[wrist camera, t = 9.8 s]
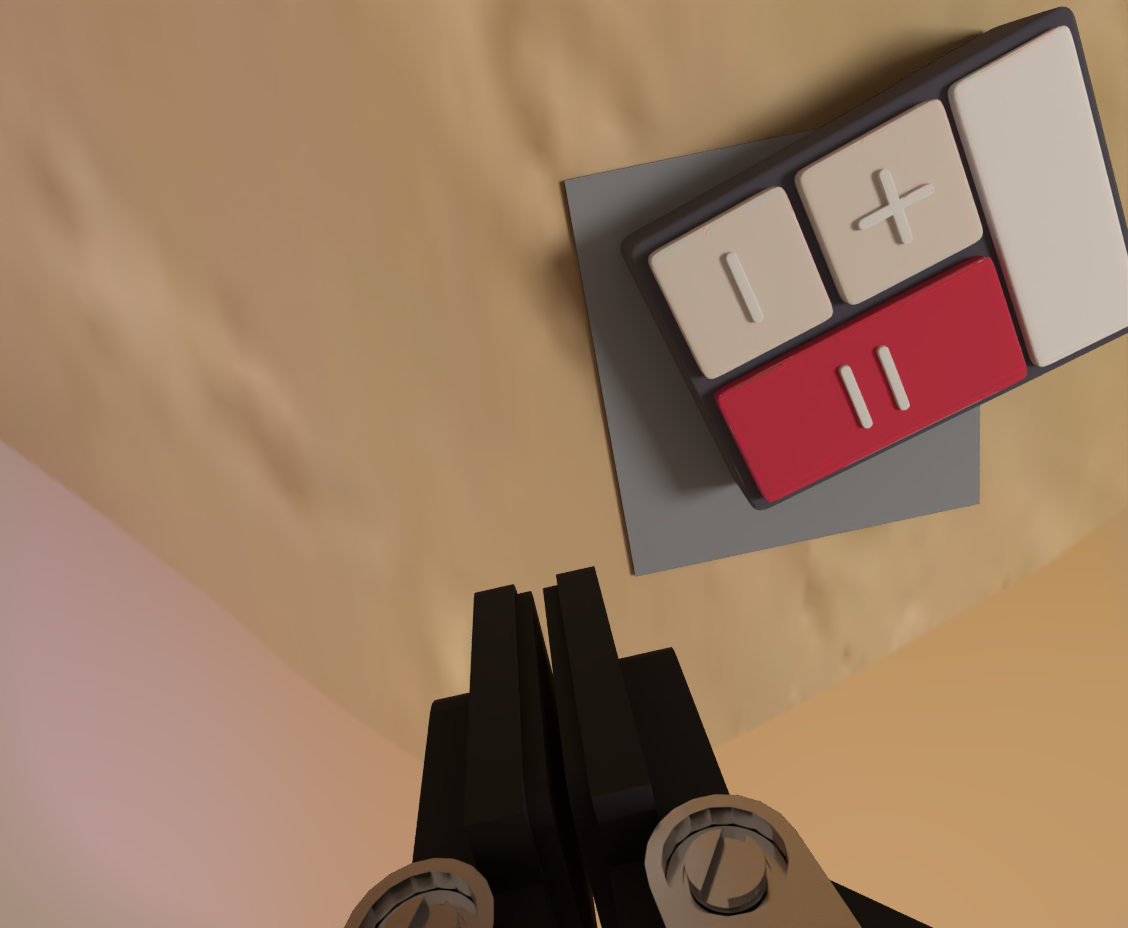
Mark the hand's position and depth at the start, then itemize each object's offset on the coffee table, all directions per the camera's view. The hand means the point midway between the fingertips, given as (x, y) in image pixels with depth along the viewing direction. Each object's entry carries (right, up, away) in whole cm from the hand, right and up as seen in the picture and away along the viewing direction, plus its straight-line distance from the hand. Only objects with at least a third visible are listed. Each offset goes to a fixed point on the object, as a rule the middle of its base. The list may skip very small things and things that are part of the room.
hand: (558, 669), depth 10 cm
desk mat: (+9, +7, +19) cm, 22 cm away
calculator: (+11, +10, +18) cm, 23 cm away
